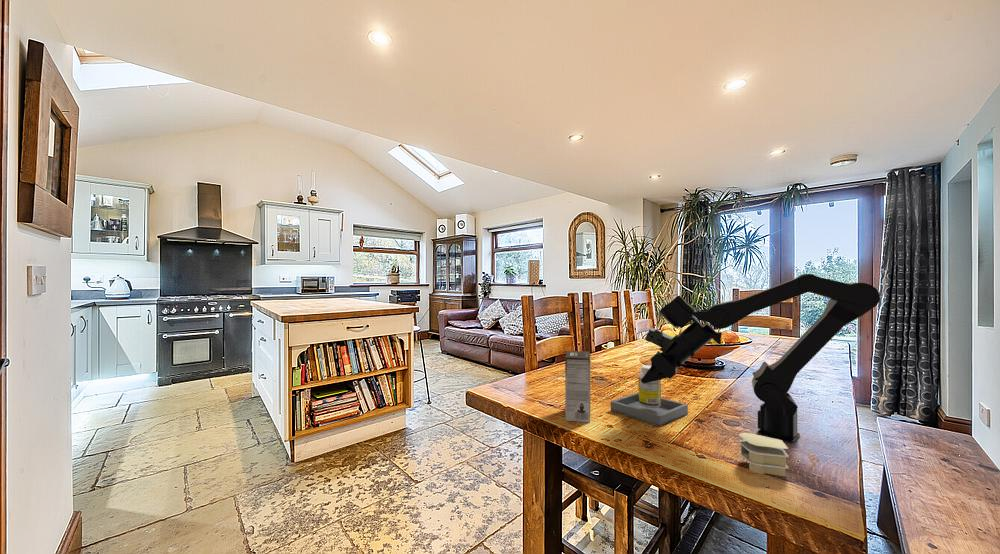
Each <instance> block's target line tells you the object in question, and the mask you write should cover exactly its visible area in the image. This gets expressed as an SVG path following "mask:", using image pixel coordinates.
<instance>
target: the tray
mask: <svg viewBox="0 0 1000 554" xmlns="http://www.w3.org/2000/svg"><path fill="white" fill-rule="evenodd" d="M688 410H689V404H687V403H683V402H678V401H676V400H671V399H668V398H663V397H661V406H660V407H657V408H648V407H644V406H642V405H640V404H639V391H637V392H636V393H632V394H628V395H625V396H623V397H620V398H619V397H618V398H616V399H614V400H611V401H610V411H611V412H614V413H616V414H620V415H623V416H626V417H629V418H632V419H635V420H638V421H641V422H644V423H647V424H651V425H654V426H656V427H659V428H660V427H663V426H665V425H667V424H669V423H672V422H673V421H676V420H678V419H681V418H683V417H684V415H685V416H687V415H688V414H689V411H688ZM680 417H681V418H680Z"/></svg>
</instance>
